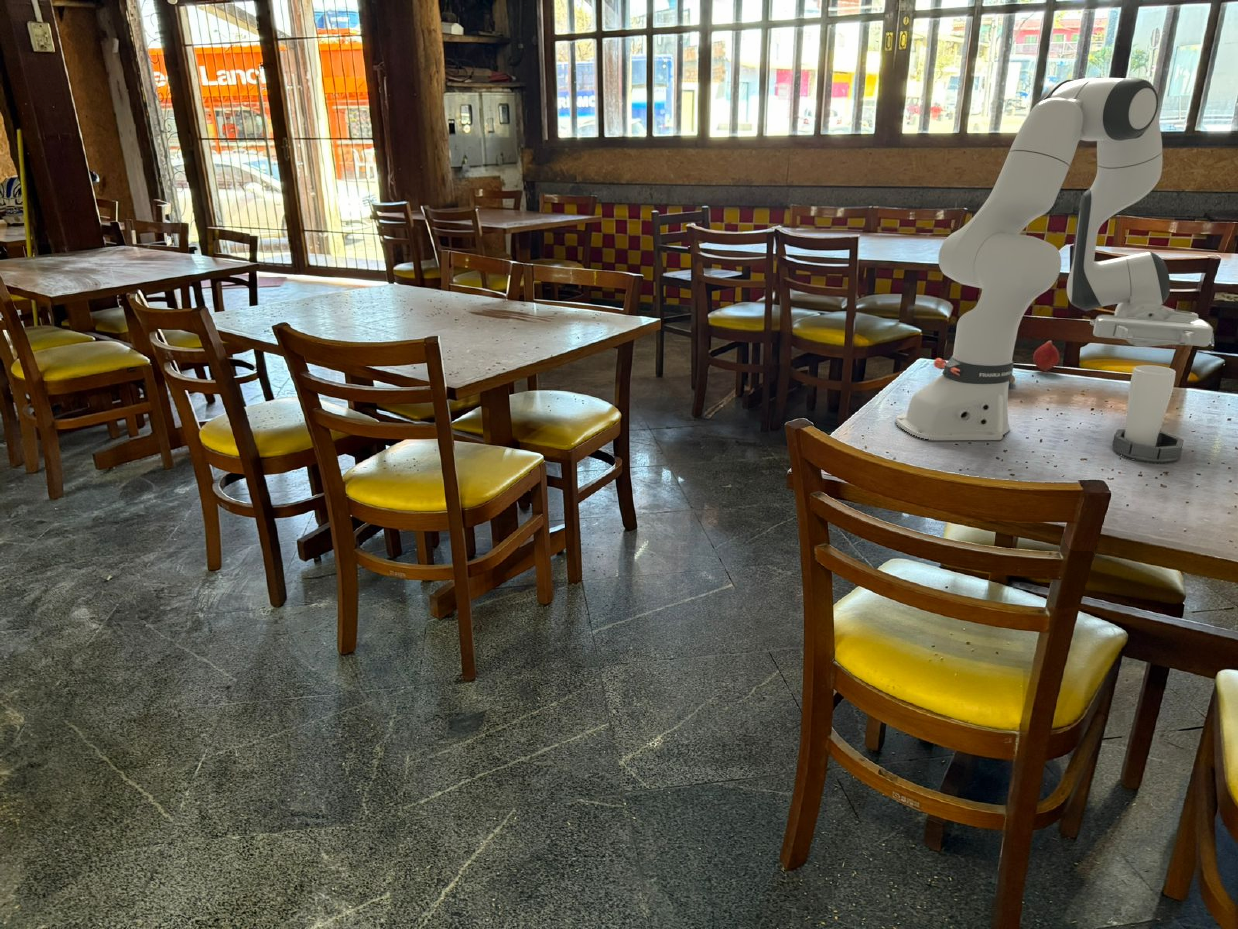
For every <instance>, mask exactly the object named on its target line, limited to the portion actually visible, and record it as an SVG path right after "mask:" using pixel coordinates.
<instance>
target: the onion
mask: <svg viewBox="0 0 1238 929" xmlns="http://www.w3.org/2000/svg"><path fill="white" fill-rule="evenodd" d="M1032 360H1033V363H1034V365H1035V366H1036V367H1037V368H1038V369H1039V370H1040V371H1041V372H1043V371H1045V372H1048V371H1050V370H1051V369H1052V368H1054V367H1055V366H1056V365H1058V363H1059V361H1060V353H1059V351H1058V349H1057V348H1056V346H1055V345H1053V341H1052V340H1047V341H1046V342H1045V343H1044V344H1042V345H1041V346H1039V347H1038V348H1037V349H1036V350H1035V351H1034V353H1033V358H1032Z"/></svg>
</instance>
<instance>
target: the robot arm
mask: <svg viewBox="0 0 1238 929" xmlns="http://www.w3.org/2000/svg"><path fill="white" fill-rule="evenodd" d="M1158 108H1159V96H1158V93H1157V90H1156V89H1155V87H1154V85H1153V84H1152V83H1151V82H1150V81H1149V80H1147V79H1143V78H1139V77H1132V76H1131V77H1130V76H1128V77H1125V78H1123V77H1122V78H1121V77H1103V76H1096V77H1095V76H1094V77H1093V76H1092V77H1085V78H1080V79H1067V80H1063V81H1059V82H1056V83H1054V84H1052V85H1050V86H1049V87H1048V88H1046V90H1045V91H1044V92H1043V93H1042V95H1041V96H1040V98H1039V100H1038V101H1037V103H1036V104H1035V105H1033V107H1032V109H1031V110H1030V111H1029V113H1028V115H1027V117H1026V118H1025V120H1024V121H1023V123H1022V124H1021V127H1020V128H1019V130H1018V132H1017V134H1016V136H1015V139H1014V140H1013V142H1012V144H1011V147H1010V149H1009V152H1008V154H1007V157H1006V159H1005V161H1004V164H1003V166H1002V169H1001V171H1000V173H999V175H998V177H997V180H996V182H995V184H994V186H993V188H992V190H991V193H990V194H989V196H988V197H987V198H986V200H985V202H984V203H983V205H982V206H981V207H980V208H979V210H978V211H977V212H976V213H975V214H974V215H973V217H972V218H971V219H970V220H969V221H967V223H966V224H964V225H963V226H962V227H961V228H960V229H958V230H956V231H954V232H952V233H951V234H949V235H948V236H947V237H946V238H945V240H943V241H942V242H943V243H942V244H941V247H940V249H939V252H938V260H937V261H938V267H939V269H940V271H941V273H942V274H943V275H944V276H946V277H947V278H950V279H951V280H953V281H954V282H956V283H959V284H960V285H964V286H969V287H973V288H979V289H981V294H980V298H979V299H978V301H977V304H976V305H975V307H974V308H973V309H971V310H968V311H967V312H965V313H964V314H962V315H961V316H960V317H959V319H958V321H957V323H956V332H955V336H954V337H955V339H954V346H953V354H952V356H951V355H950V358H949V360H948V361H947V360H944V359H942V358H940V357H937V358H935V360H933V366H934V368H937V369H939V370H942V374H941V375H939V376H938V377H937V378H935V379H934V380H933V381H932V382H929V383H928V384H927V385H925V386H924V387H923V388H921V389H920V390H918V391H916V392H915V393H914V394H913V395H912V397H911V398H910V401H909V404H908V409H907V412H906V413H903V414H898V415H896V417H895V420H894V422H895V421H896V423H897V424H896V423H895V424H896V426H897V425H899V426H900V427H901V428H903V429H904V430H905V431H908V432H909V433H910V434H909V433H908V434H909V435H911V434H912V435H911V436H913V435H916V436H917V437H916V436H915V437H916V438H918V437H920V438H919V439H921V438H925V439H929V440H928V441H1000V440H1002V439H1003V437H1004V436H1003V435H1005V434H1007V433H1008V432H1009V431H1010V423H1009V412H1008V411H1009V409H1008V405H1009V404H1008V400H1009V399H1008V398H1009V385H1010V384H1011V383H1010V381H1011V378H1012V375H1013V371H1014V360H1013V356H1014V350H1015V345H1016V342H1017V338H1016V336H1017V337H1018V330H1019V326H1020V324H1021V321H1022V319H1023V316H1024V315H1025V313H1026V311H1027V310H1028V308H1029V307H1030V305H1031V304H1032V303H1033V301H1034V300H1035V299H1037V298H1038V297H1040V296H1041V295H1042V294H1044V293H1045V292H1047V291H1048V290H1049V289H1051V288H1052V286H1054V284H1055V283H1056V281H1057V280H1058V278H1059V276H1060V272H1061V269H1062V257H1061V253H1060V251H1059V249H1058V247H1056V246H1055V245H1054V244H1052V243H1050V242H1048V241H1045V240H1043V239H1041V238H1038V237H1036V236H1031V235H1025V234H1021V233H1022V232H1023V231H1024V230H1025V228H1026V227H1027V226H1029V224H1030V223H1032V222H1033V221H1034V220H1036V219H1038V218H1041V216H1043V215H1045V214H1047V213H1048V212H1049V211H1050V210H1051V209H1052V207H1054V204H1055V202H1056V200H1057V198H1058V196H1059V193H1060V191H1061V188H1062V186H1063V184H1064V181H1065V179H1066V177H1067V174H1068V171H1069V170H1070V167H1071V165H1072V162H1073V159H1074V156H1075V153H1076V150H1077V148H1078V144H1079V142H1080V141H1084V142H1096V161H1097V171H1096V175H1095V178H1094V180H1093V183H1092V185H1091V186H1090V188H1089V189H1087V190H1086V191H1085V192H1083V193H1082V196H1081V198H1080V202H1079V205H1078V212H1077V216H1076V223H1075V232H1074V241H1073V249H1072V257H1071V264H1070V269H1069V274H1068V278H1067V282H1066V294H1067V298H1068V300H1069V303H1070V304H1071V305H1073V306H1074V307H1076V308H1078V309H1079V310H1083V311H1085V312H1088V311H1092V310H1095V309H1096V310H1097V309H1099V308H1100V309H1101V308H1103V307H1105V306H1107V307H1108V306H1111V305H1116V304H1117V305H1116V306H1115V310H1114V314H1113V315H1112V314H1099V315H1097V316H1096V319H1094V318H1093V319H1090V321H1089V324H1090V325H1091V326H1093V332H1092V334H1093V336H1095V337H1096V338H1097V337H1098V338H1106V339H1117V340H1126V341H1127V342H1128V343H1129V344H1131V345H1132V346H1135V347H1139V348H1148V347H1150V348H1151V347H1153V346H1154V347H1155V346H1156V347H1157V346H1159V347H1160V346H1166V345H1168V346H1170V345H1171V346H1172V345H1173V346H1195V347H1208V346H1209V345H1210V343H1211V340H1212V337H1213V333H1214V332H1213V331H1214V328H1213V327H1212V326H1211V325H1210V323H1209V322H1207V321H1205V320H1204V319H1201V318H1199V314H1198V313H1195V312H1191V311H1188V310H1187V311H1185V310H1180V309H1174V308H1171V307H1168V306H1165V305H1164V304H1165V303H1166V301H1167V299H1168V298H1169V296H1170V294H1171V292H1170V291H1171V279H1170V274H1169V270H1168V266H1167V265H1166V263H1165V261H1164V259H1163V258H1161V257H1160V256H1159V255H1158V254H1156V253H1154V251H1153V252H1152V251H1147V252H1146V251H1144V252H1140V253H1135V254H1133V253H1132V254H1129V255H1125V256H1120V257H1117V258H1116V257H1115V258H1111V259H1105V260H1100V261H1096V260H1095V255H1096V249H1097V240H1098V233H1099V230H1100V228H1101V227H1102V225H1103V224H1104V223H1105V222H1106V221H1107V220H1109V219H1110V218H1112V217H1113V216H1114V215H1116V214H1118V213H1119V212H1120V211H1122V210H1124V209H1126V208H1128V207H1130V206H1132V205H1134V204H1135V203H1138V202H1140V201H1141V200H1142V199H1143V198H1144V197H1146V196H1147V195H1148V194H1150V192H1152V191H1153V190H1154V188H1155V187H1156V185H1157V184H1158V182H1159V181H1160V179H1161V177H1162V171H1163V156H1164V155H1163V139H1162V131H1161V126H1160V122H1159V121H1160V120H1159V117H1158V113H1157V112H1158ZM1015 341H1016V342H1015ZM899 426H898V427H899ZM900 427H899V428H900ZM901 428H900V429H901ZM904 430H903V431H904ZM925 439H924V440H925ZM930 439H931V440H930Z"/></svg>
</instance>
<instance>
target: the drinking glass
mask: <svg viewBox="0 0 1238 929" xmlns="http://www.w3.org/2000/svg"><path fill="white" fill-rule="evenodd" d="M1176 373H1177V371H1176V370H1175V369H1173V368H1169V367H1165V366H1160V365H1151V364H1150V365H1149V364H1147V365H1145V364H1144V365H1143V364H1142V365H1136V366H1134V367H1133V370H1132V373H1131V379H1130V382H1129V388H1128V397H1127V398H1128V400H1127V410H1126V419H1125V428H1124V429H1125V435H1124V438H1125V439H1127V440H1129V441H1131V442H1133V443H1137V444H1143V445H1149V446H1155V447H1156V443H1157V439H1158V435H1159V432H1160V431H1161V428H1162V425H1163V423H1164V418H1165V416H1166V413H1167V409H1168V406H1169V404H1170V401H1171V398H1172V397H1171V396H1172V394H1173V391H1174V390H1173V389H1174V385H1175V380H1176Z"/></svg>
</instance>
